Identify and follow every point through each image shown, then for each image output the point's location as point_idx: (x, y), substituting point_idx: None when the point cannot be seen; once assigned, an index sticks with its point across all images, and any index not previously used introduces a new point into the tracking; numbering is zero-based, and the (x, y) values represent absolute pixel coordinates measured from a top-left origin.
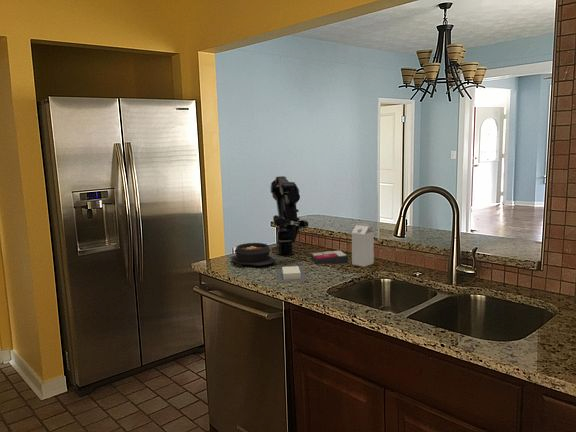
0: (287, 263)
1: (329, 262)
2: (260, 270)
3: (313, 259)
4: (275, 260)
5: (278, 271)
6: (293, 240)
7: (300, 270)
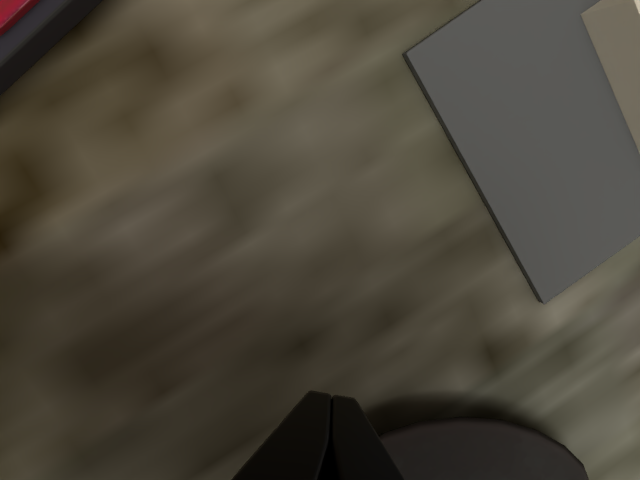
0: (256, 347)
1: None
2: (592, 413)
3: (2, 81)
4: None
5: (615, 229)
6: (357, 414)
7: (515, 23)
